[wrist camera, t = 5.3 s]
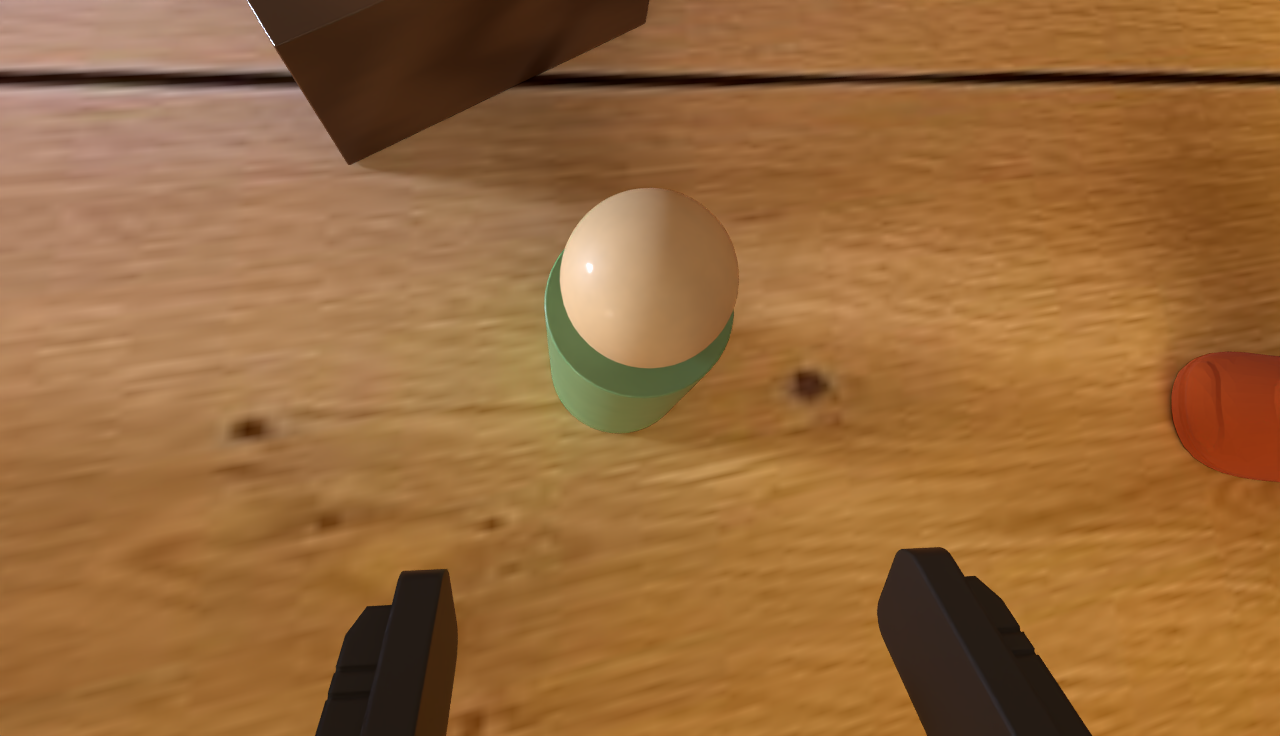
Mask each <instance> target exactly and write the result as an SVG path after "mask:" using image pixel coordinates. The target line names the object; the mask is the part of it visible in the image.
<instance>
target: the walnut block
mask: <svg viewBox="0 0 1280 736" xmlns="http://www.w3.org/2000/svg"><path fill="white" fill-rule="evenodd" d="M246 1H247V2H248V4H249V6H250V7H251V9H252V11H253V12H254V14H255V16H256V17H257V19H258V21H259V22H260V24H261V26H262V27H263V29H264V31H265V32H266V34H267V36H268V37H269V39H270V41H271V42H272V44H273V46H274V47H275V49H276V51H277V52H278V54H279V55H280V57H281V59H282V60H283V62H284V63H285V65H286V67H287V68H288V70H289V71H290V73H291V75H292V76H293V78H294V79H295V81H296V82H297V84H298V86H299V87H300V89H301V90H302V92H303V94H304V95H305V97H306V98H307V100H308V102H309V103H310V105H311V106H312V108H313V110H314V111H315V113H316V114H317V116H318V118H319V119H320V121H321V122H322V124H323V125H324V127H325V129H326V130H327V132H328V133H329V135H330V137H331V138H332V140H333V141H334V143H335V145H336V146H337V148H338V149H339V151H340V153H341V154H342V156H343V157H344V159H345V161H346V162H347V164H348V165H351V164H353V163H355V162H357V161H359V160H361V159H363V158H365V157H367V156H369V155H371V154H373V153H376V152H378V151H380V150H382V149H384V148H386V147H388V146H390V145H392V144H394V143H396V142H398V141H401V140H403V139H405V138H407V137H409V136H411V135H413V134H415V133H417V132H419V131H421V130H423V129H426V128H428V127H430V126H432V125H434V124H436V123H438V122H440V121H442V120H444V119H446V118H448V117H451V116H453V115H455V114H457V113H459V112H461V111H463V110H465V109H467V108H469V107H471V106H474V105H476V104H478V103H480V102H482V101H484V100H486V99H488V98H490V97H492V96H494V95H496V94H499V93H501V92H503V91H505V90H507V89H509V88H511V87H513V86H515V85H517V84H519V83H521V82H524V81H526V80H528V79H530V78H532V77H534V76H536V75H538V74H540V73H542V72H544V71H546V70H549V69H551V68H553V67H555V66H557V65H559V64H561V63H563V62H565V61H567V60H569V59H571V58H574V57H576V56H578V55H580V54H582V53H584V52H586V51H588V50H590V49H592V48H594V47H596V46H599V45H601V44H603V43H605V42H607V41H609V40H611V39H613V38H615V37H617V36H619V35H622V34H624V33H626V32H628V31H630V30H632V29H634V28H636V27H638V26H640V25H642V24H644V23H645V22H646V16H647V10H648V4H649V0H246Z"/></svg>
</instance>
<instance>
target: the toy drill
mask: <svg viewBox="0 0 1280 736" xmlns="http://www.w3.org/2000/svg"><path fill="white" fill-rule="evenodd" d="M1172 415H1173V422H1174V425H1175V428H1176V431H1177V434H1178V436H1179V438H1180V440H1181V442H1182V444H1183V446H1184V447H1185V448H1186V449H1187V450H1188V451H1189V453H1190V454H1191V455H1192V456H1193V457H1194V458H1195V459H1197V460H1198V461H1200V462H1201V463H1203V464H1205V465H1206V466H1208V467H1210V468H1212V469H1215V470H1217V471H1220V472H1222V473H1225V474H1229V475H1233V476H1237V477H1242V478H1249V479H1255V480H1264V481H1275V482H1280V356H1270V355H1261V354H1253V353H1245V352H1218V353H1209V354H1206V355H1203V356H1200V357H1197V358H1196V359H1194V360H1192V361H1191V362H1189V363H1188V364H1187V365H1186V366H1185V367H1183V368H1182V369H1181V370H1180V371H1179V373H1178V375H1177V377H1176V379H1175V381H1174V385H1173V390H1172Z"/></svg>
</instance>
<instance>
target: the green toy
mask: <svg viewBox="0 0 1280 736" xmlns="http://www.w3.org/2000/svg"><path fill="white" fill-rule="evenodd" d="M738 286H739V269H738V262H737V257H736V254H735V250H734V247H733V244H732V242H731V240H730V237H729V235H728V234H727V232H726V230H725V229H724V227H723V226H722V224H721V223H720V222H719V221H718V219H717V218H716V217H715V216H714V215H713V214H712V213H711V212H710V211H709V210H708V209H706V208H705V207H704V206H703V205H701V204H700V203H698V202H697V201H695V200H694V199H692V198H690V197H688V196H686V195H683V194H681V193H678V192H675V191H672V190H666V189H661V188H639V189H633V190H628V191H625V192H621V193H618V194H616V195H614V196H611V197H609V198H607V199H606V200H604V201H602V202H601V203H599V204H598V205H597V206H595V207H594V208H593V209H592V210H590V211H589V212H588V213H587V214H586V215H585V216H584V217H583V218H582V219H581V221H580V222H579V223H578V225H577V226H576V228H575V229H574V231H573V232H572V234H571V236H570V238H569V240H568V242H567V244H566V247H565V249H564V250H563V251H562V253H561V254H560V255H559V257H558V258H557V260H556V262H555V264H554V266H553V268H552V270H551V272H550V275H549V278H548V281H547V286H546V291H545V303H544V307H545V319H546V328H547V337H548V346H549V355H550V365H551V374H552V380H553V384H554V387H555V390H556V393H557V395H558V397H559V398H560V400H561V402H562V403H563V405H564V406H565V408H566V409H567V410H568V411H569V412H570V413H571V414H572V415H573V416H574V417H575V418H577V419H578V420H579V421H581V422H582V423H584V424H586V425H587V426H590V427H592V428H594V429H597V430H600V431H604V432H609V433H629V432H634V431H638V430H641V429H644V428H646V427H648V426H650V425H652V424H654V423H655V422H657V421H658V420H660V419H661V418H662V417H663V416H664V415H665V414H666V413H667V412H668V411H669V410H670V409H671V408H672V407H673V406H674V405H675V404H676V403H677V402H678V401H679V400H680V399H681V398H682V397H683V396H684V395H685V394H686V393H687V392H689V391H690V390H691V389H692V388H693V387H694V386H695V385H696V384H697V383H698V382H699V381H700V380H701V379H702V378H703V377H704V376H705V375H706V374H707V373H708V372H709V371H710V370H711V368H712V367H713V366H714V365H715V363H716V362H717V361H718V360H719V358H720V356H721V355H722V353H723V351H724V350H725V347H726V345H727V343H728V340H729V337H730V334H731V330H732V325H733V318H734V306H735V303H736V299H737V294H738Z"/></svg>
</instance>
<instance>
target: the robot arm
mask: <svg viewBox="0 0 1280 736" xmlns="http://www.w3.org/2000/svg"><path fill="white" fill-rule="evenodd" d="M877 616H878V624H879V628H880V632H881V635H882V637H883V640H884V642H885V644H886V646H887V648H888V651H889V653H890V655H891V657H892V659H893V662H894V664H895V666H896V668H897V670H898V672H899V675H900V677H901V679H902V681H903V683H904V686H905V688H906V690H907V692H908V694H909V697H910V699H911V701H912V703H913V705H914V707H915V710H916V712H917V714H918V716H919V718H920V721H921V723H922V725H923V727H924V729H925V731H926V734H927V736H1092V735H1091V733H1090V732H1089V730H1088V729H1087V727H1086V726H1085V724H1084V723H1083V721H1082V720H1081V718H1080V717H1079V715H1078V714H1077V712H1076V711H1075V709H1074V708H1073V706H1072V705H1071V703H1070V702H1069V700H1068V699H1067V697H1066V695H1065V694H1064V692H1063V691H1062V689H1061V688H1060V686H1059V685H1058V683H1057V682H1056V680H1055V679H1054V677H1053V676H1052V674H1051V673H1050V671H1049V670H1048V668H1047V667H1046V665H1045V664H1044V662H1043V661H1042V659H1041V658H1040V656H1039V655H1036V654H1035V652H1034V647H1033V646H1032V644H1031V643H1030V641H1029V640H1028V638H1027V637H1026V635H1025V634H1024V632H1021V631H1020V626H1019V624H1018V623H1017V621H1016V620H1015V618H1014V617H1013V615H1012V614H1011V612H1010V611H1009V609H1008V608H1007V606H1006V605H1005V603H1004V602H1003V600H1002V599H1001V598H1000V597H999V596H998V595H996V594H995V593H994V592H993V591H992V590H991V589H990V588H988V587H987V586H986V585H985V584H984V583H983V582H982V581H980V580H979V579H978V578H977V577H976V576H967V577H964V575H963V573H962V572H961V570H960V569H959V567H958V565H957V564H956V562H955V561H954V559H953V557H952V556H951V555H950V553H949V552H948V551H947V550H945V549H944V548H941V547H934V548H913V549H901V550H899V551H898V552H897V553H896V555H895V558H894V561H893V563H892V566H891V569H890V571H889V574H888V577H887V580H886V582H885V585H884V588H883V590H882V593H881V596H880V599H879V602H878V608H877ZM457 644H458V633H457V621H456V615H455V608H454V602H453V596H452V589H451V583H450V577H449V572H448V570H447V569H436V570H415V571H402V572H401V574H400V576H399V579H398V582H397V586H396V590H395V594H394V598H393V602H392V605H384V606H367V607H366V608H365V610H364V611H363V612H362V614H361V615H360V616H359V618H358V619H357V620H356V622H355V623H354V624H353V626H352V627H351V628H350V630H349V631H348V632H347V634H346V635H345V638H344V641H343V645H342V648H341V651H340V655H339V658H338V661H337V665H336V672H335V673H334V675H333V678H332V681H331V685H330V688H329V691H328V699H327V700H326V701H325V705H324V708H323V711H322V715H321V718H320V721H319V725H318V728H317V731H316V735H315V736H446V732H447V725H448V718H449V710H450V703H451V696H452V689H453V682H454V674H455V667H456V659H457Z"/></svg>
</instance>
